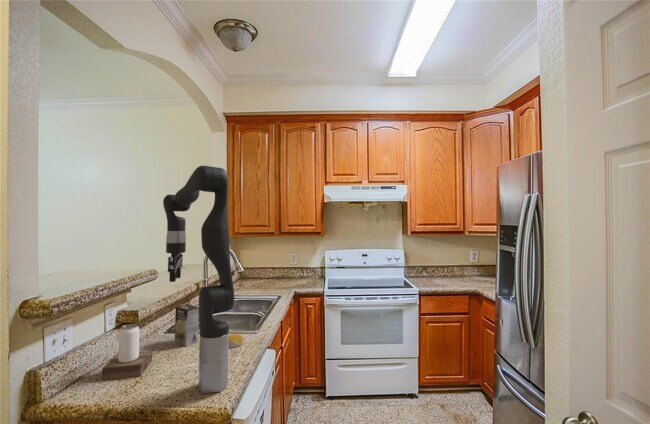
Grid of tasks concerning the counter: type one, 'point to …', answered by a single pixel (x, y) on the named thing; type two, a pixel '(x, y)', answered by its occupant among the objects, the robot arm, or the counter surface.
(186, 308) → the coffee box
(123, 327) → the can
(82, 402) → the counter surface
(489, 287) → the counter surface
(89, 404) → the counter surface
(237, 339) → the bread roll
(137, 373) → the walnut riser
